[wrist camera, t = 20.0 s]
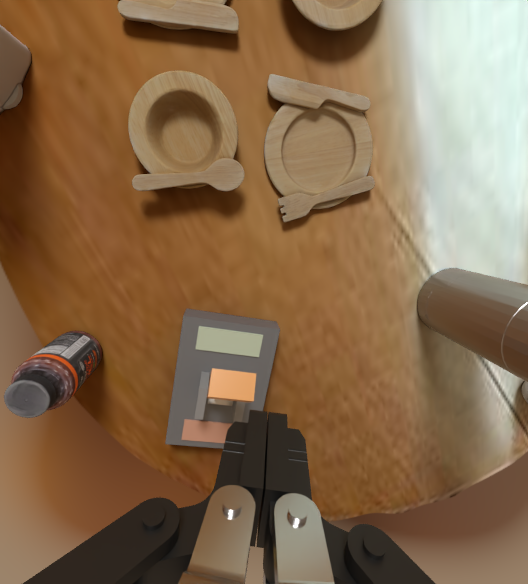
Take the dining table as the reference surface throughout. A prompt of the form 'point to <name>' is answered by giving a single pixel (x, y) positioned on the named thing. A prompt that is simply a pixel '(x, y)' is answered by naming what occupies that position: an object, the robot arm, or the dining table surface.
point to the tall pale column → (12, 69)
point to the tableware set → (223, 126)
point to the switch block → (219, 355)
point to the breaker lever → (230, 387)
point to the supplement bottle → (53, 374)
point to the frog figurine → (525, 390)
